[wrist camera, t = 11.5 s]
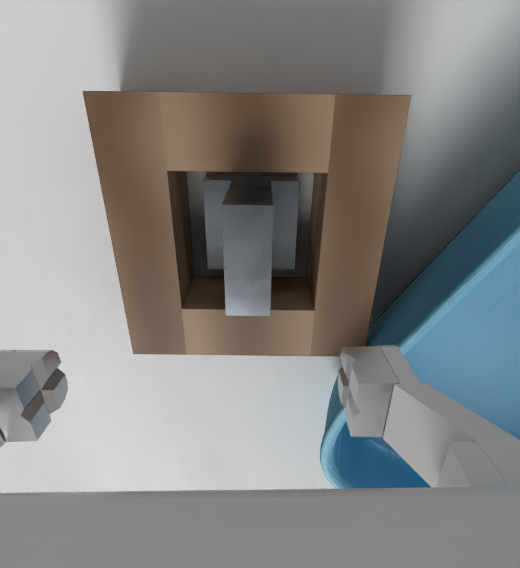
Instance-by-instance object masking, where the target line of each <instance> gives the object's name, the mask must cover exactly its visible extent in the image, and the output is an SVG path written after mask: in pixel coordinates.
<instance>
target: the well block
mask: <svg viewBox="0 0 520 568" xmlns="http://www.w3.org/2000/svg"><path fill="white" fill-rule="evenodd" d="M83 96H84V101H85V106H86V111H87V116H88V121H89V127H90V132H91V137H92V142H93V147H94V152H95V158H96V163H97V168H98V173H99V178H100V184H101V189H102V194H103V199H104V204H105V209H106V215H107V220H108V225H109V230H110V235H111V240H112V246H113V251H114V256H115V261H116V266H117V272H118V277H119V282H120V287H121V292H122V297H123V303H124V308H125V313H126V318H127V323H128V328H129V334H130V339H131V344H132V349H133V354H180V355H266V356H340V355H341V349H342V347H356V346H365V344H366V339H367V333H368V328H369V323H370V317H371V312H372V306H373V301H374V295H375V290H376V285H377V279H378V274H379V268H380V263H381V257H382V252H383V247H384V241H385V236H386V230H387V225H388V219H389V214H390V208H391V203H392V198H393V192H394V187H395V181H396V176H397V170H398V165H399V160H400V154H401V149H402V143H403V138H404V132H405V127H406V122H407V116H408V111H409V105H410V100H411V95H354V94H276V93H198V92H120V91H83ZM186 171H219V172H299V173H314V183H313V195H312V208H311V220H310V233H309V246H308V258H307V271H306V277H271V307H270V316H228V315H226V308H225V282H224V276H195V273H194V261H193V249H192V237H191V225H190V213H189V200H188V188H187V176H186Z"/></svg>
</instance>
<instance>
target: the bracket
mask: <svg viewBox="0 0 520 568" xmlns="http://www.w3.org/2000/svg"><path fill="white" fill-rule="evenodd" d="M202 181H203V198H204V214H205V230H206V246H207V263H208V269H224V282H225V308H226V315H228V316H270V307H271V273H272V270H294V267H295V251H296V235H297V219H298V203H299V187H300V181H299V179H298V177H293V176H216V175H206V176H205V178H204V179H203V180H202Z"/></svg>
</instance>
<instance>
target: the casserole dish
mask: <svg viewBox="0 0 520 568" xmlns="http://www.w3.org/2000/svg"><path fill="white" fill-rule="evenodd" d="M378 345H396V346H398V347H399V349H400V350H401V352H402V354H403V355H404V357H405V359H406V360H407V362H408V363H409V365H410V367H411V368H412V370H413V371H414V373H415V375H416V376H417V378H418V380H419V381H420V383H426V384H428V385H430V386H431V387H433V388H435V389H436V390H438V391H440V392H441V393H443V394H445V395H446V396H448V397H450V398H451V399H453V400H454V401H456V402H458V403H459V404H461V405H463V406H464V407H466V408H468V409H469V410H471V411H473V412H474V413H476V414H478V415H479V416H481V417H483V418H484V419H486V420H488V421H489V422H491V423H492V424H494V425H496V426H497V427H499V428H501V429H502V430H504V431H506V432H507V433H509V434H511V435H512V436H514V437H516V438H517V439H519V440H520V170H519V171H518V172H517V173H516V175H515V176H514V177H513V178H512V179H511V180H510V181H509V182H508V183H507V184H506V185H505V186H504V187H503V188H502V189H501V190H500V191H499V192H498V193H497V194H496V195H495V196H494V197H493V198H492V199H491V201H490V202H489V203H488V204H487V205H486V206H485V207H484V208H483V209H482V210H481V211H480V212H479V213H478V214H477V215H476V216H475V217H474V218H473V219H472V220H471V221H470V223H469V224H468V225H467V226H466V227H465V228H464V229H463V230H462V231H461V232H460V233H459V234H458V235H457V236H456V237H455V238H454V239H453V240H452V241H451V242H450V243H449V244H448V246H447V247H446V248H445V249H444V250H443V251H442V252H441V253H440V254H439V255H438V256H437V257H436V258H435V259H434V260H433V261H432V262H431V263H430V264H429V265H428V266H427V267H426V268H425V269H424V270H423V271H422V273H421V274H420V275H419V276H418V277H417V278H416V279H415V280H414V281H413V282H412V283H411V284H410V285H409V286H408V287H407V288H406V289H405V290H404V292H403V293H402V294H401V295H400V296H399V297H398V298H397V299H396V300H395V301H394V302H393V303H392V304H391V305H390V306H389V307H388V309H387V310H386V311H385V312H384V313H383V314H382V315H381V316H380V318H379V319H378V320H377V321H376V322H375V323H374V324H373V326H372V327H371V328H370V329H369V330H368V333H367V339H366V344H365V346H378ZM342 367H343V366H342ZM345 413H346V407H344V406H343V405H342V404H341V401H340V397H339V391H338V376H337V379H336V381H335V384H334V387H333V390H332V394H331V398H330V402H329V407H328V413H327V419H326V426H325V432H324V436H323V439H322V443H321V449H320V461H321V466H322V470H323V472H324V474H325V476H326V478H327V479H328V480H329V482H330V483H331V484H332V485H333V486H334V487H335V488H336V489H354V488H430V487H431V486H430V485H429V484H428V483H427V482H426V481H425V480H424V479H423V478H422V477H421V476H420V475H419V474H418V473H417V472H416V471H415V470H414V469H413V468H412V467H411V466H410V465H409V464H408V463H407V462H406V461H405V460H404V459H403V458H402V457H401V456H400V455H399V454H398V453H397V452H396V451H395V450H394V449H393V448H392V447H391V446H390V445H389V444H388V443H387V442H386V441H385V440H384V439H383V437H351V435H350V432H349V428H348V425H347V422H346V418H345Z"/></svg>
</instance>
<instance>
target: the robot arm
mask: <svg viewBox="0 0 520 568" xmlns="http://www.w3.org/2000/svg"><path fill="white" fill-rule="evenodd" d="M340 360H341V363H342V366H343V367H342V368H341V369H340V370H339V373H338V391H339V397H340V401H341V404H342V405H343V406H344V407H346V413H345V418H346V422H347V425H348V428H349V432H350V435H351V437H383V439H384V440H385V441H386V442H387V443H388V444H389V445H390V446H391V447H392V448H393V449H394V450H395V451H396V452H397V453H398V454H399V455H400V456H401V457H402V458H403V459H404V460H405V461H406V462H407V463H408V464H409V465H410V466H411V467H412V468H413V469H414V470H415V471H416V472H417V473H418V474H419V475H420V476H421V477H422V478H423V479H424V480H425V481H426V482H427V483H428V484H429V485H430V486H431V487H430V488H354V489H276V490H193V491H117V492H41V493H0V568H520V440H519V439H517V438H516V437H514V436H512V435H511V434H509V433H507V432H506V431H504V430H502V429H501V428H499V427H497V426H496V425H494V424H492V423H491V422H489V421H488V420H486V419H484V418H483V417H481V416H479V415H478V414H476V413H474V412H473V411H471V410H469V409H468V408H466V407H464V406H463V405H461V404H459V403H458V402H456V401H454V400H453V399H451V398H450V397H448V396H446V395H445V394H443V393H441V392H440V391H438V390H436V389H435V388H433V387H431V386H430V385H428V384H426V383H420V381H419V380H418V378H417V376H416V375H415V373H414V371H413V370H412V368H411V367H410V365H409V363H408V362H407V360H406V359H405V357H404V355H403V354H402V352H401V350H400V349H399V347H398V346H396V345H378V346H356V347H342V349H341V355H340ZM60 363H61V361H60V358H59V356H58V353H57V352H55V351H53V350H0V447H1V446H2V445H4V444H5V442H16V441H37V440H38V439H39V438H40V436H41V435H42V433H43V432H44V430H45V429H46V427H47V426H48V424H49V423H50V421H51V418H50V414H51V413H52V412H54V411H55V410H57V409H59V408H60V406H61V405H62V403H63V402H64V400H65V397H66V394H67V390H68V386H67V379H66V376H65V374H64V373H63V372H62V371H60V370H59V369H58V367H59V365H60Z"/></svg>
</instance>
